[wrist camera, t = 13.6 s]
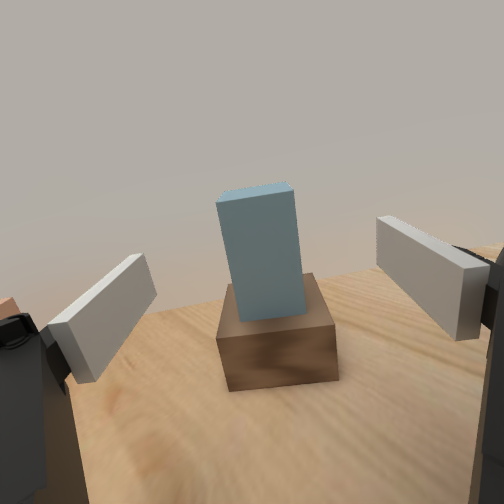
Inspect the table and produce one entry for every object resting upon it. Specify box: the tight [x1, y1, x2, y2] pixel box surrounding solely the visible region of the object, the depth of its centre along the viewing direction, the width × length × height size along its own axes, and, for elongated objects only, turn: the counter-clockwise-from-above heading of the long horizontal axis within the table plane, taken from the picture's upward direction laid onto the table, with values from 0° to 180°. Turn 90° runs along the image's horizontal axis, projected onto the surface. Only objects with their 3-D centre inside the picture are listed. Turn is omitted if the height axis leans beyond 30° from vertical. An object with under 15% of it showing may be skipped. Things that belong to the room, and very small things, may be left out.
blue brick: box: [216, 182, 307, 322], centre depth 25 cm, size 6×6×11 cm
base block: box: [216, 273, 339, 392], centre depth 28 cm, size 10×10×6 cm
